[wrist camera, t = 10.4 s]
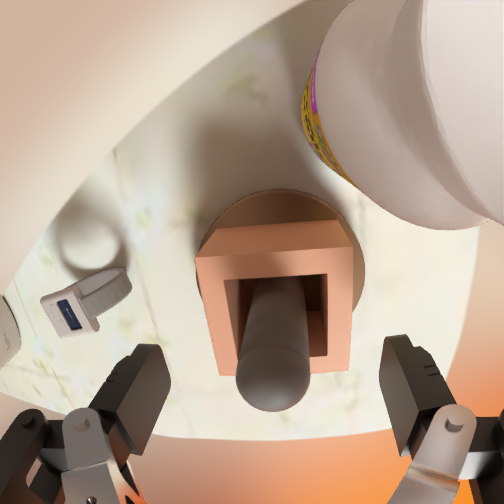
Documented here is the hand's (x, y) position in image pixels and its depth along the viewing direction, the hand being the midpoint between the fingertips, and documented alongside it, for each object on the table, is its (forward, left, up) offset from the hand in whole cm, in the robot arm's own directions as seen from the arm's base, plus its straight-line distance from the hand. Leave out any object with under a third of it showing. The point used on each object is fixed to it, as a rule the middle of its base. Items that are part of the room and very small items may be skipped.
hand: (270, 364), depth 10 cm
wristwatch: (-11, 0, -8) cm, 14 cm away
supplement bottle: (+5, +8, -8) cm, 13 cm away
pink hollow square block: (0, 0, -6) cm, 6 cm away
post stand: (0, 0, -8) cm, 8 cm away
